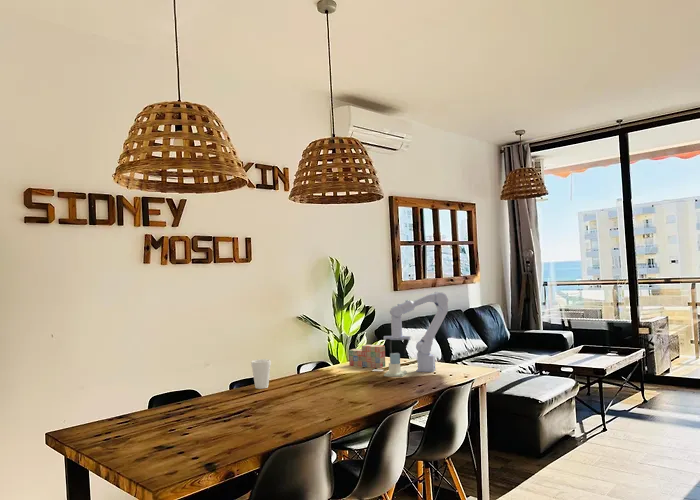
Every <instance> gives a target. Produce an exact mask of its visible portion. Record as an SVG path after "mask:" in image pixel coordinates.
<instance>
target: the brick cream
mask: <svg viewBox="0 0 700 500" xmlns="http://www.w3.org/2000/svg"><path fill="white" fill-rule="evenodd" d="M388 371H389V373H395V374H397V373H400V372H401V371H402V369H401V363H400V364H391V363H390V362H389V363H388Z"/></svg>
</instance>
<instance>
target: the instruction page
mask: <svg viewBox="0 0 700 500" xmlns="http://www.w3.org/2000/svg"><path fill="white" fill-rule="evenodd" d="M383 371H384V369H380V368H373V369H372V370H371V372H383Z"/></svg>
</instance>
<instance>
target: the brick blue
mask: <svg viewBox="0 0 700 500" xmlns="http://www.w3.org/2000/svg"><path fill="white" fill-rule="evenodd" d="M389 363H391V364H400V365H401V354H400V353H399V352H392V353H389Z"/></svg>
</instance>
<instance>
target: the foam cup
mask: <svg viewBox="0 0 700 500" xmlns="http://www.w3.org/2000/svg"><path fill="white" fill-rule="evenodd" d="M250 363H251V364H250V365H251V369H252V375H253V381H254V388H255V389H259V390H261V389H268V387H269V385H270V384H269V383H270V373H271V372H270V371H271V365H272V360H271V359H266V358H263V359H253V360H251V362H250Z"/></svg>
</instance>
